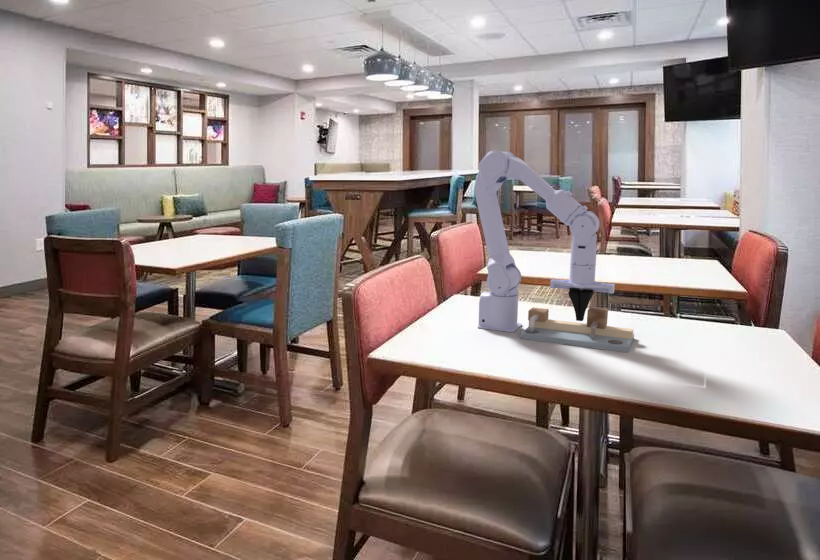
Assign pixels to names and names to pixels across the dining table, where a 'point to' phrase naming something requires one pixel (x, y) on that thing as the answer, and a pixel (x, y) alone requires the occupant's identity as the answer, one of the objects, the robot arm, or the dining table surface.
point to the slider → (596, 319)
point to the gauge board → (575, 333)
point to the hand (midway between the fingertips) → (579, 320)
